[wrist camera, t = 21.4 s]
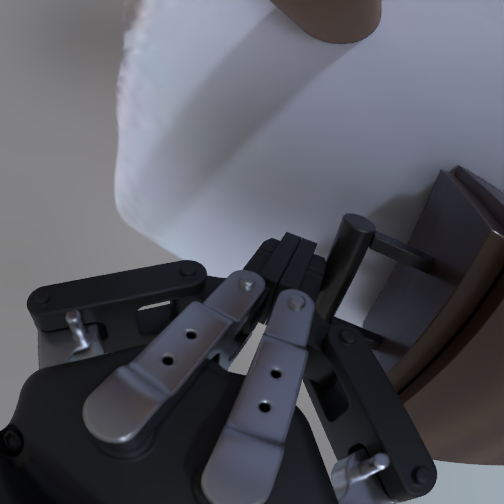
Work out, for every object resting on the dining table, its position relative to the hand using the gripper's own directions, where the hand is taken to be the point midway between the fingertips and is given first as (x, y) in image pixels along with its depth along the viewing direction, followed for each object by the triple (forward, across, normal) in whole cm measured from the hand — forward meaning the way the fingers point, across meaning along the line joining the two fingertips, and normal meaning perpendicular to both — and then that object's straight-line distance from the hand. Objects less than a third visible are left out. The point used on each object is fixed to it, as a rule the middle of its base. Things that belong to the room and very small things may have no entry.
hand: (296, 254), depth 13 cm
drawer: (+4, -10, 0) cm, 11 cm away
